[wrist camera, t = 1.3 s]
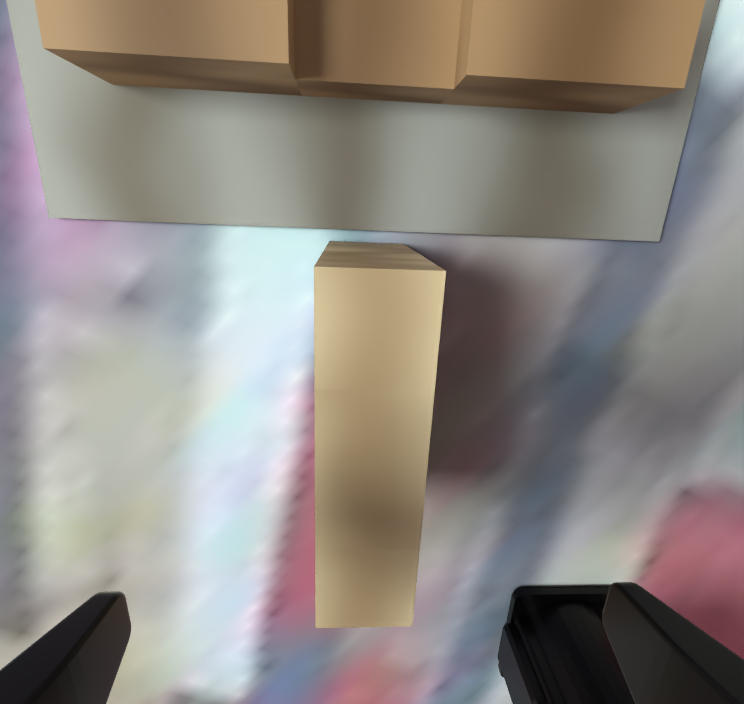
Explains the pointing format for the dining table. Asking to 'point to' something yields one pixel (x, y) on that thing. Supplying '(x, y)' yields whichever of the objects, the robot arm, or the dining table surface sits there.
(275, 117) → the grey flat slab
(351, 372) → the birch plate
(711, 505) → the dining table surface
